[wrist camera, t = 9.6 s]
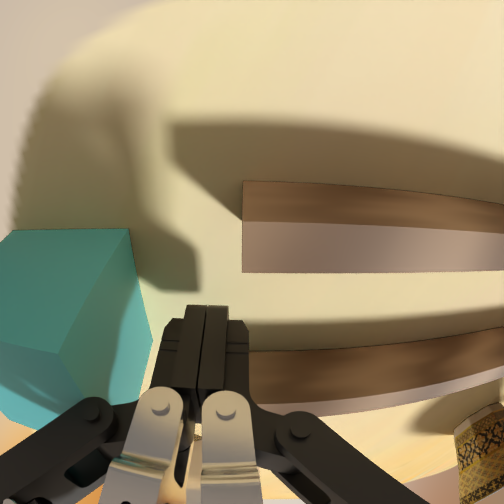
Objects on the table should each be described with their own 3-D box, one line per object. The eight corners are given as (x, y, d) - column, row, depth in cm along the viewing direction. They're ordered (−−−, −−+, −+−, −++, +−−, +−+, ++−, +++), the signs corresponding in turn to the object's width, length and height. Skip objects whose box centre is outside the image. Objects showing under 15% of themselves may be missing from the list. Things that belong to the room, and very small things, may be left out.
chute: (571, 219, 11) (601, 244, 8) (514, 337, 16) (532, 365, 13) (243, 180, 10) (242, 221, 7) (240, 369, 15) (240, 419, 13)
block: (128, 228, 11) (57, 353, 6) (152, 340, 14) (126, 453, 9) (13, 230, 11) (-68, 320, 6) (52, 329, 14) (9, 419, 9)
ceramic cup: (423, 447, 26) (443, 518, 17) (480, 398, 21) (514, 481, 12) (485, 430, 28) (505, 485, 19) (533, 384, 23) (562, 444, 14)
